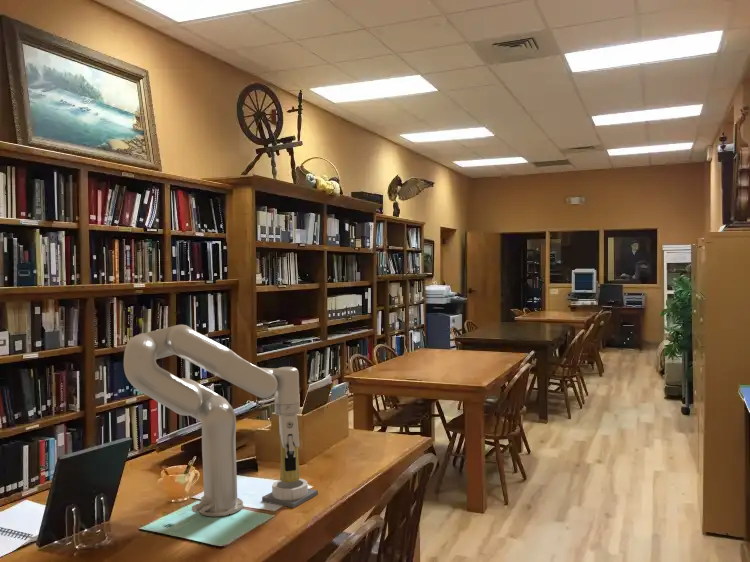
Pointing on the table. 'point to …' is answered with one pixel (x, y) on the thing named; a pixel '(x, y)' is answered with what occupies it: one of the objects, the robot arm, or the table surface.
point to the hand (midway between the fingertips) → (289, 466)
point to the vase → (284, 475)
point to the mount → (290, 493)
